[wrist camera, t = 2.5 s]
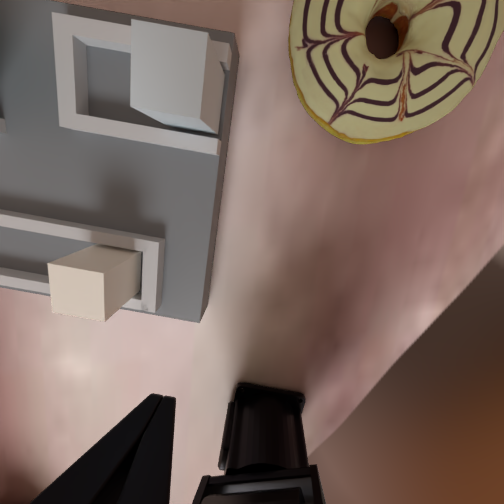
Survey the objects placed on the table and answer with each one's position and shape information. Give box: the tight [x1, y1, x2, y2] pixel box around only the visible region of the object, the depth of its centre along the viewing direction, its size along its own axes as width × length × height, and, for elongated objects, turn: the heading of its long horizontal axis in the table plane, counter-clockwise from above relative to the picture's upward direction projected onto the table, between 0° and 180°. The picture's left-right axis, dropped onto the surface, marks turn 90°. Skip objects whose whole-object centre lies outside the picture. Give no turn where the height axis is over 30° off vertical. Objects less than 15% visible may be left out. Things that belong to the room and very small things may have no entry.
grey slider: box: [130, 19, 225, 135], centre depth 12 cm, size 3×3×4 cm
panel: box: [0, 0, 239, 323], centre depth 16 cm, size 20×18×4 cm
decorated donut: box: [288, 0, 504, 144], centre depth 13 cm, size 10×11×4 cm
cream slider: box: [47, 244, 141, 322], centre depth 15 cm, size 3×3×4 cm
